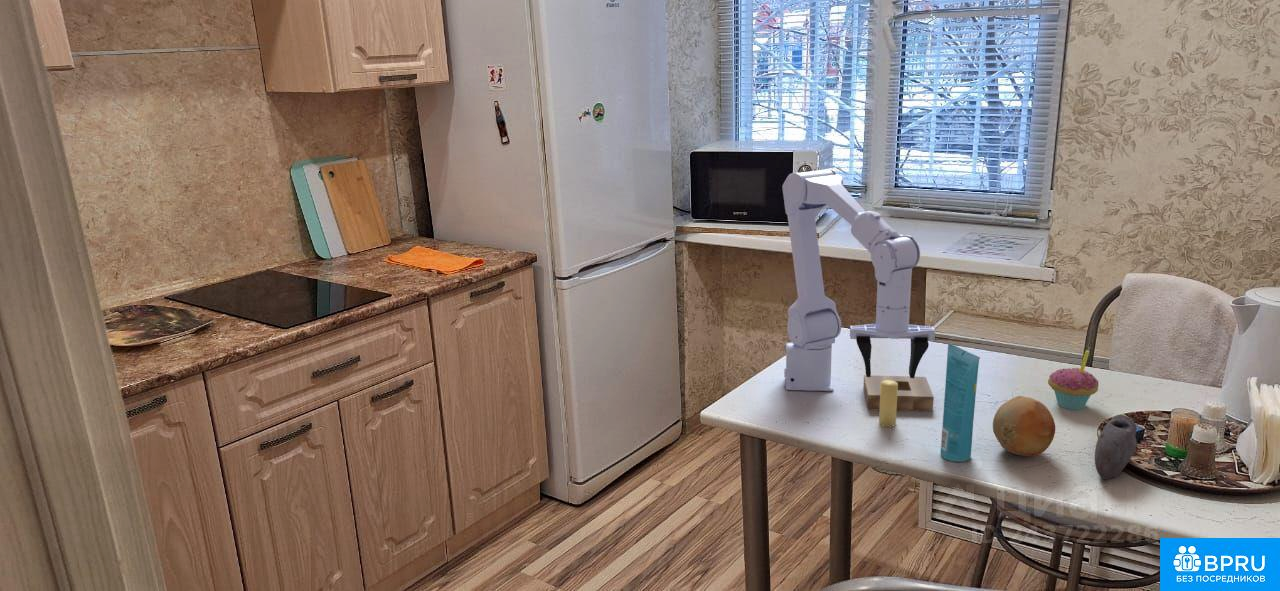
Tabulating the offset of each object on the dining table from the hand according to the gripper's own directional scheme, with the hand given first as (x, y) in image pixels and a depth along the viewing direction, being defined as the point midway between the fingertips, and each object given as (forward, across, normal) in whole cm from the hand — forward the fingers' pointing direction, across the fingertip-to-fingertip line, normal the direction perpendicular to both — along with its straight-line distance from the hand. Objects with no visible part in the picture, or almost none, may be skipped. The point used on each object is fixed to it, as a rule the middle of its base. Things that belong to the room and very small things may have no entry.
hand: (889, 375), depth 159 cm
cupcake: (+10, +35, +11) cm, 38 cm away
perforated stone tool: (+10, +34, -14) cm, 38 cm away
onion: (+10, +21, -10) cm, 25 cm away
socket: (+10, +3, +11) cm, 15 cm away
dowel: (+10, 0, 0) cm, 10 cm away
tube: (+10, +10, -12) cm, 18 cm away
